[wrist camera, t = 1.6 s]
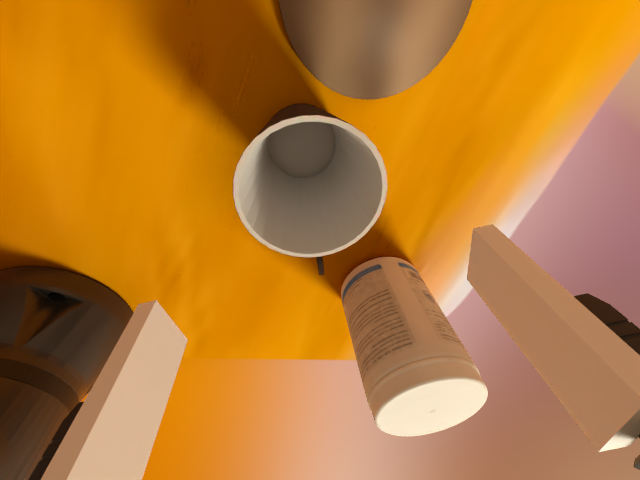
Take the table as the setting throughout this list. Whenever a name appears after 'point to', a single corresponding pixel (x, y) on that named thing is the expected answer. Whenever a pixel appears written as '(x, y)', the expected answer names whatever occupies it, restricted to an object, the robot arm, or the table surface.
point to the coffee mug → (309, 184)
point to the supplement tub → (408, 351)
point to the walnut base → (372, 41)
